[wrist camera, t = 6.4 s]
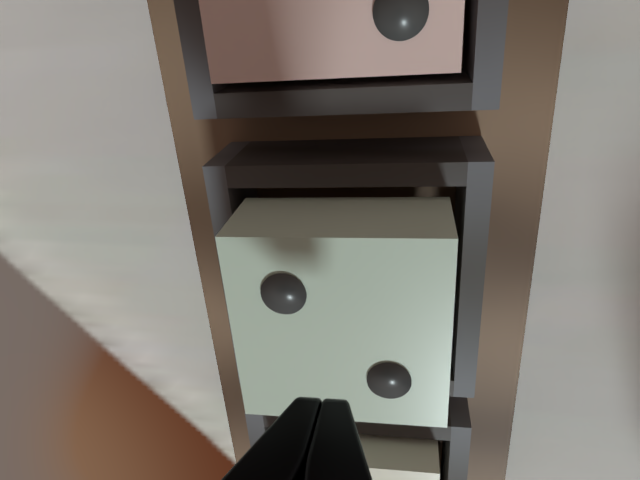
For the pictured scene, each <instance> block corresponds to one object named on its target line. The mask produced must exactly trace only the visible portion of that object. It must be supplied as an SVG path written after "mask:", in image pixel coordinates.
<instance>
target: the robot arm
mask: <svg viewBox="0 0 640 480" xmlns="http://www.w3.org/2000/svg"><path fill="white" fill-rule="evenodd" d="M222 480H372V477H371V473H370V470H369V467H368V464H367V460H366V457H365V454H364V451H363V447H362V444H361V441H360V437H359V434H358V431H357V428H356V424H355V421H354V418H353V414H352V411H351V408H350V405H349V402H348V401H347V400H345V399H330V398H326V399H324V400H323V401H322V400H321V399H320V398H315V397H297V398H296V399H295V400H294V401H293V402H292V403H291V404H290V405H289V406H288V407H287V408H286V409H285V410H284V412H283V413H282V414H281V415H280V416H279V417H278V418H277V419H276V420H275V421H274V422H273V424H272V425H271V426H270V427H269V428H268V429H267V430H266V431H265V432H264V433H263V435H262V436H261V437H260V438H259V439H258V440H257V441H256V442H255V443H254V444H253V446H252V447H251V448H250V449H249V450H248V451H247V452H246V453H245V454H244V455H243V457H242V458H241V459H240V460H239V461H238V462H237V463H236V464H235V465H234V466H233V468H232V469H231V470H230V471H229V472H228V473H227V474H226V475H225V476H224V477H223V478H222Z"/></svg>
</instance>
